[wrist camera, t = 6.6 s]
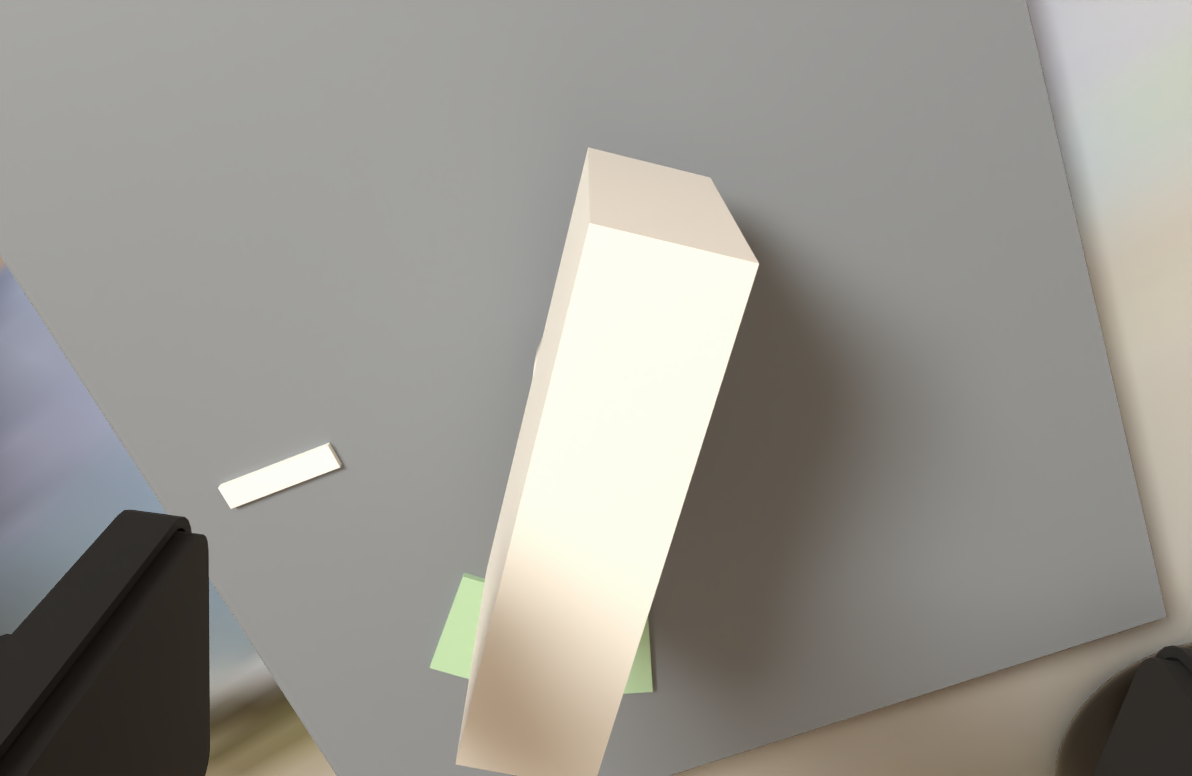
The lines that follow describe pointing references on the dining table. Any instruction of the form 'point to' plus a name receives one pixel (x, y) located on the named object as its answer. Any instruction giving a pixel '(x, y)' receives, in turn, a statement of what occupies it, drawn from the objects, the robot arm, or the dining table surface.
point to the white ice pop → (602, 461)
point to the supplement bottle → (1095, 725)
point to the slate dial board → (517, 321)
